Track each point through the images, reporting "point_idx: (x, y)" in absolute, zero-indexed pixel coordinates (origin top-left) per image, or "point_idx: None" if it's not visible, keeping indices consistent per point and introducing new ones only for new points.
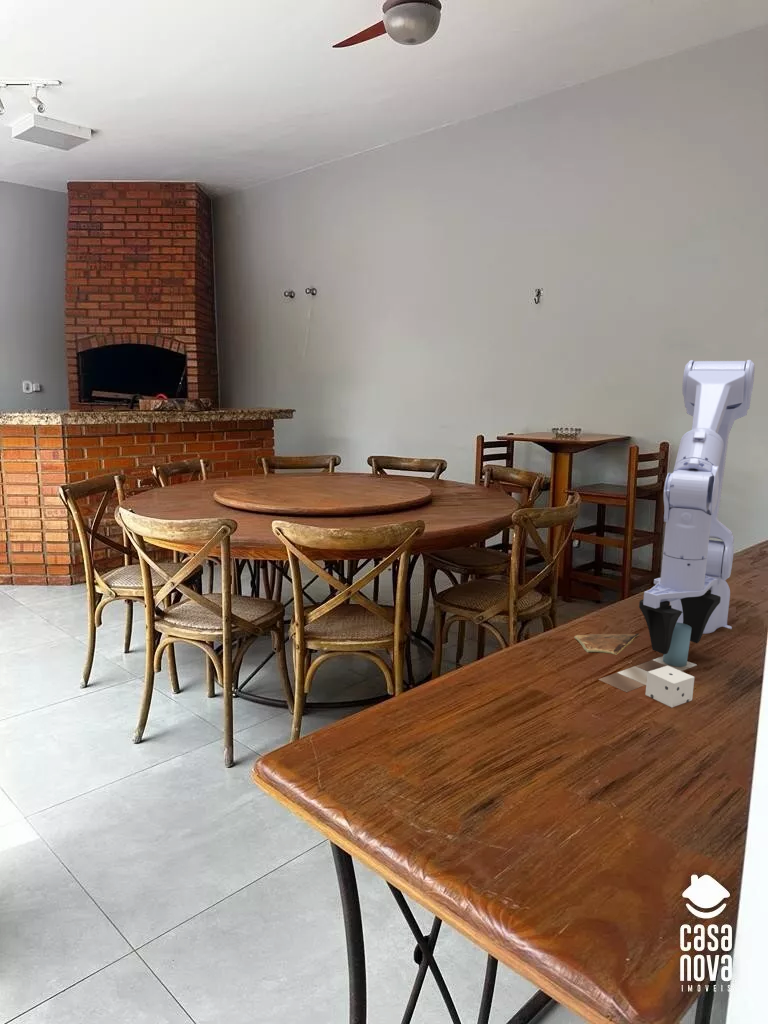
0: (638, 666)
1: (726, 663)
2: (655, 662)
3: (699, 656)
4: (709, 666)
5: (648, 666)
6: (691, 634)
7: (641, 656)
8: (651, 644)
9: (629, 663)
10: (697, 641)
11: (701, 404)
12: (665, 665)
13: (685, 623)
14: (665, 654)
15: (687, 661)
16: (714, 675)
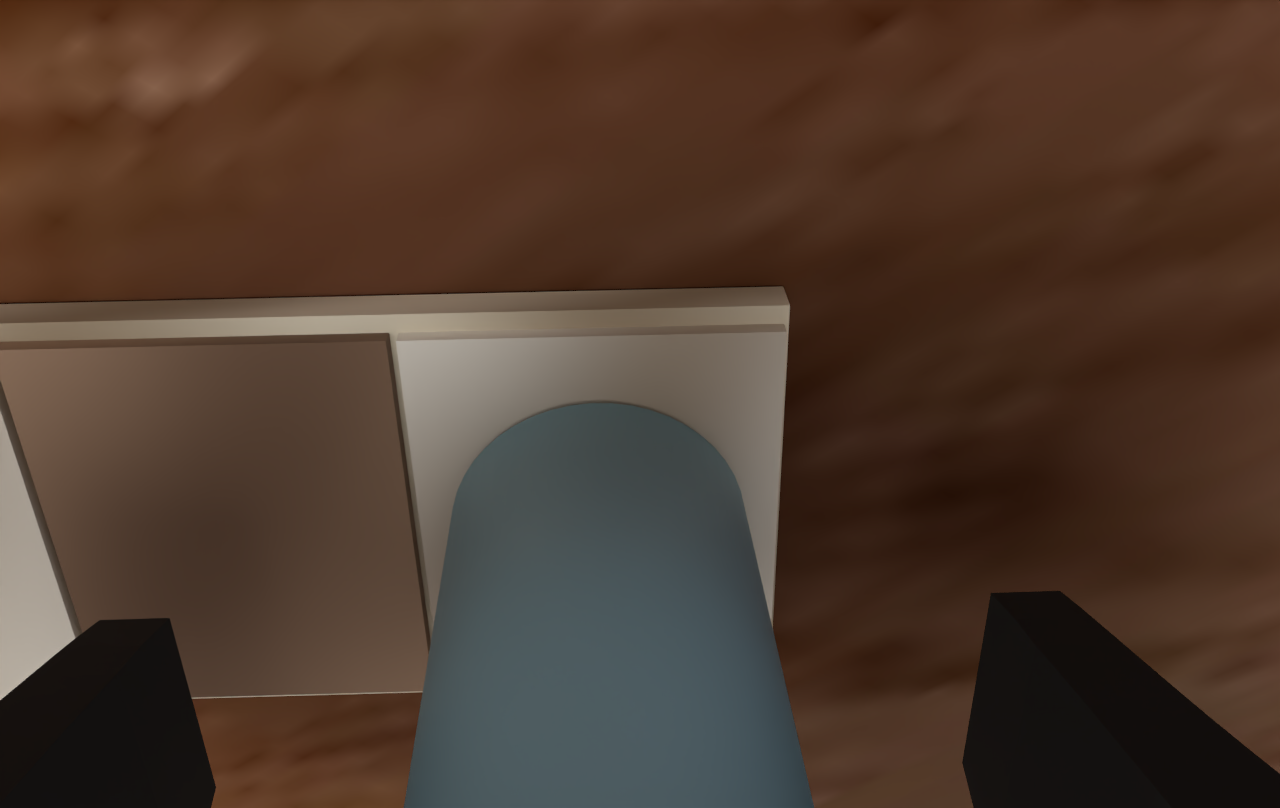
0: (32, 378)
1: (1195, 696)
2: (365, 411)
3: (1181, 458)
4: (965, 658)
5: (168, 443)
6: (1011, 780)
7: (509, 42)
8: (43, 664)
9: (128, 119)
10: (978, 791)
11: None
12: (410, 525)
13: (1121, 801)
14: (453, 550)
15: (767, 583)
16: None
